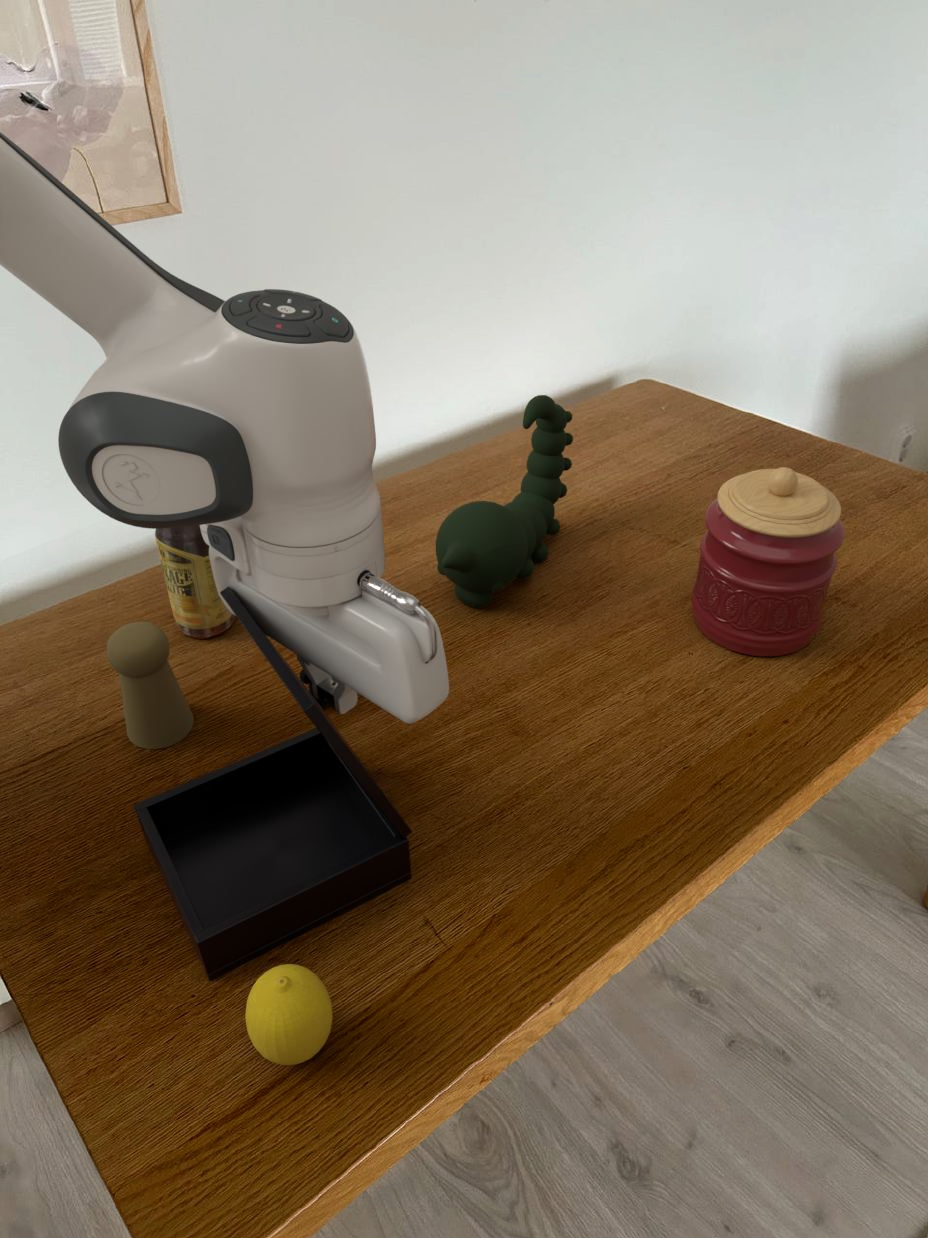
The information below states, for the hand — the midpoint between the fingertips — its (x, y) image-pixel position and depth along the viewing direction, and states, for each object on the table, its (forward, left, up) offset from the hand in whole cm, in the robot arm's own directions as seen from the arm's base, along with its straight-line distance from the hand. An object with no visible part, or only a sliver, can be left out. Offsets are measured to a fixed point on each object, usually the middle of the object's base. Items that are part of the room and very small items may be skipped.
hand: (336, 701), depth 72 cm
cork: (-10, +20, -14) cm, 26 cm away
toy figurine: (+30, +23, -14) cm, 40 cm away
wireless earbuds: (+4, +15, -14) cm, 21 cm away
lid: (-2, 0, -1) cm, 2 cm away
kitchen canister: (+47, +2, -14) cm, 49 cm away
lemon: (-12, -15, -14) cm, 24 cm away
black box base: (-7, 0, -14) cm, 15 cm away
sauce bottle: (-1, +32, -14) cm, 35 cm away
